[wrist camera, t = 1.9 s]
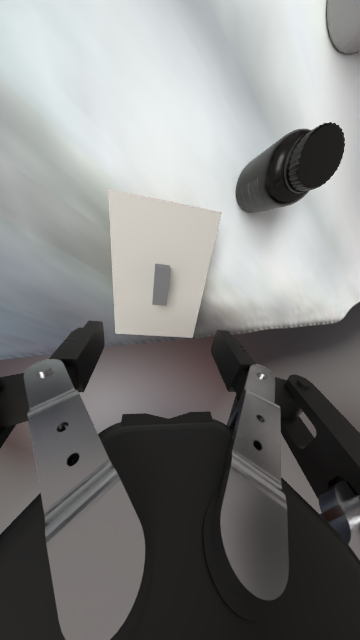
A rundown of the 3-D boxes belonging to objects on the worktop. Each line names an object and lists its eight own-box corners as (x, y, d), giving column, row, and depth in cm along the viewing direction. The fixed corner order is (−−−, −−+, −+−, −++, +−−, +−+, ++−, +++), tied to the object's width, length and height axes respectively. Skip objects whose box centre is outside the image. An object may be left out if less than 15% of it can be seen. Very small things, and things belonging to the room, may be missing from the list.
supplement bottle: (268, 213, 28) (334, 203, 17) (231, 212, 27) (276, 202, 17) (281, 159, 24) (372, 107, 14) (239, 157, 24) (301, 101, 13)
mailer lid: (213, 214, 23) (230, 209, 18) (189, 328, 32) (195, 348, 27) (115, 194, 21) (99, 181, 15) (119, 323, 30) (111, 344, 24)
